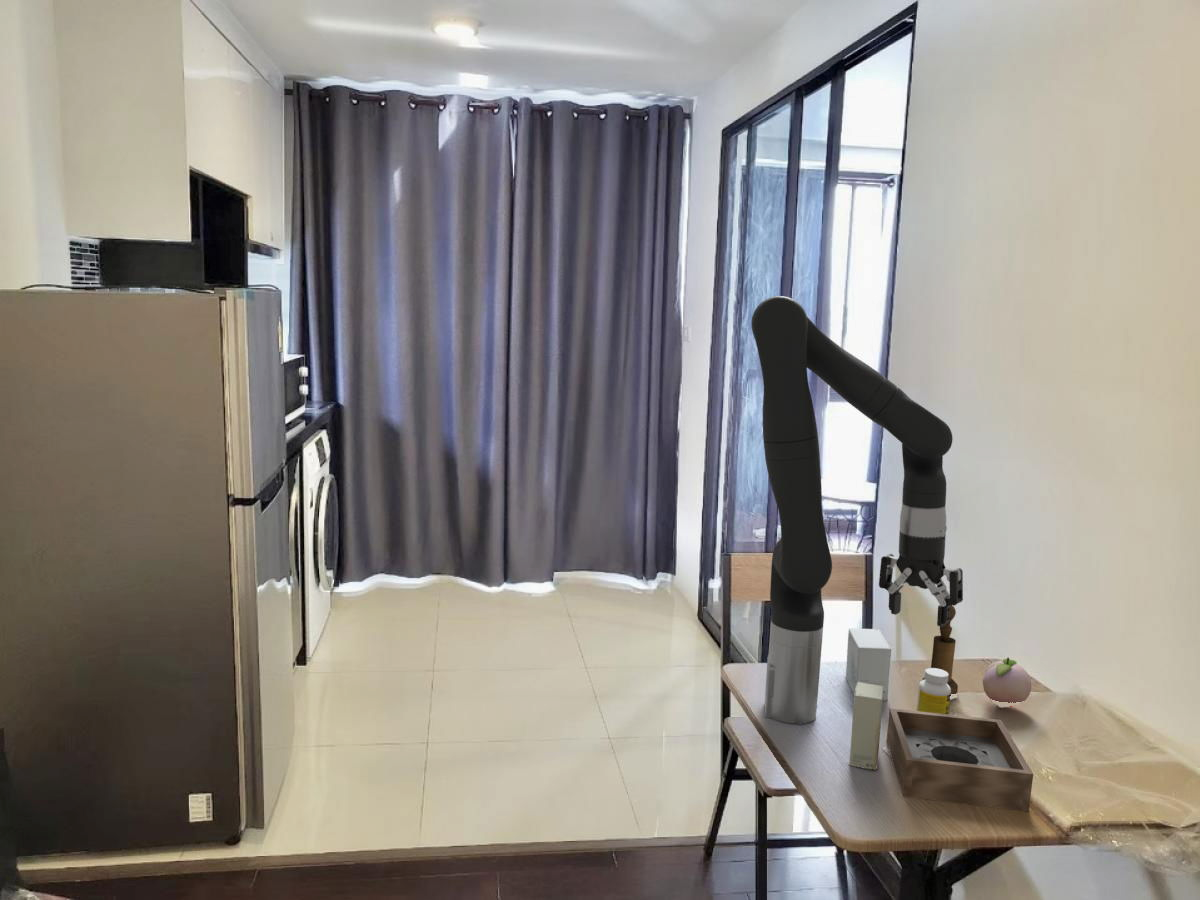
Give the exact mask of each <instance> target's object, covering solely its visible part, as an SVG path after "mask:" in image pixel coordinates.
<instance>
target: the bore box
mask: <svg viewBox="0 0 1200 900" xmlns="http://www.w3.org/2000/svg"><path fill="white" fill-rule="evenodd" d="M887 722H888V723H887V734H886V744H887V748H888V750H889V749H890V751H889V754H890V753H891V754H890V757H891V756H892V757H891V760H892V759H893V761H892V763H894V764H893V766H894V769H895V770H894V771H895V774H896V776H897V779H898V783H899V787H900V789H901V793H902V797H905V798H912V799H913V798H914V799H922V800H930V801H939V802H945V803H946V802H947V803H955V804H956V803H957V804H964V805H971V806H980V807H990V808H998V809H1005V810H1014V811H1021V812H1030V804H1031V796H1032V788H1033V780H1034V772H1033V771H1032V770H1031V767H1030V766H1029V765H1028V763H1027V761H1026V760H1025V758H1024V756H1023V754H1022V753H1021V751H1020V749H1019V747H1018V746H1017V745H1016V743H1015V741H1014V740H1013V738H1012V736H1011V734H1010V732H1009V731H1008V729H1007V727H1006V726H1005V724H1004V722H1003V720H1001V719H996V718H984V717H976V716H966V715H958V714H957V715H956V714H949V713H948V714H939V713H930V712H920V711H916V710H908V709H901V708H889V712H888V721H887Z"/></svg>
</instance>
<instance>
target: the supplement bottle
mask: <svg viewBox="0 0 1200 900" xmlns="http://www.w3.org/2000/svg"><path fill="white" fill-rule="evenodd" d="M948 676H949V674H948V673H947V672H946V671H944V670H941V669H937V668H931V667H928V668H926V669H925V670H924V677H923V678H925V680H923V679H921V681H920V682H919V685H918V690H917V691H918V692H917V701H916V710H915V711H920V712H930V713H939V714H949V713H950V712H949V711H950V701H951V700H950V696H951V688H950V686H949V685H948V684H947V682H948Z"/></svg>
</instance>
